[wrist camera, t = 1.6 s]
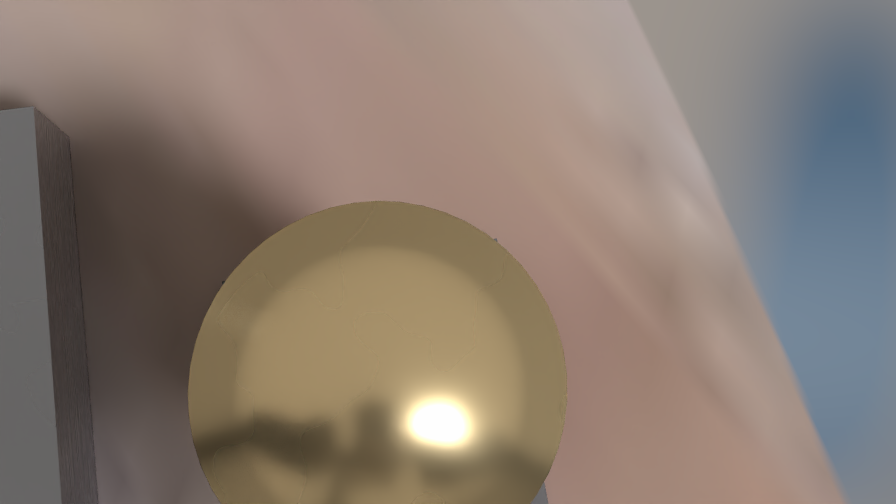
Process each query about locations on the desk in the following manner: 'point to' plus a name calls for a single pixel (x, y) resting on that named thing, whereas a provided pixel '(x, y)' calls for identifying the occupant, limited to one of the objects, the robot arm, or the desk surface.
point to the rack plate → (41, 321)
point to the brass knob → (378, 366)
